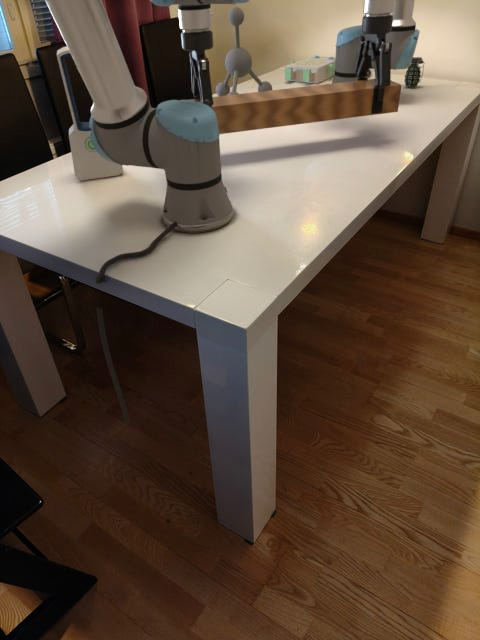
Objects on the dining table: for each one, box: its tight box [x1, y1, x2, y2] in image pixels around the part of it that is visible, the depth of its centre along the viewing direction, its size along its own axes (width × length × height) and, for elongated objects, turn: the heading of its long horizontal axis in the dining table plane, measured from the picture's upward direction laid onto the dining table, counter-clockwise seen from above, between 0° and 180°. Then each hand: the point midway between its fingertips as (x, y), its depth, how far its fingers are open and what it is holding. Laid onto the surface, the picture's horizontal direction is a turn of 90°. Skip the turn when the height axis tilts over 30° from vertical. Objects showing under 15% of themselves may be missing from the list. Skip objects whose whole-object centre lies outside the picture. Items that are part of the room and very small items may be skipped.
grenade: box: [404, 56, 426, 89], centre depth 185 cm, size 7×6×10 cm
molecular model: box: [215, 6, 273, 96], centre depth 175 cm, size 24×22×30 cm
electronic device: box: [56, 45, 124, 181], centre depth 122 cm, size 12×8×30 cm, turn 105°
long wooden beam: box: [190, 78, 403, 135], centre depth 131 cm, size 60×10×7 cm, turn 104°
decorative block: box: [284, 55, 335, 84], centre depth 206 cm, size 26×6×20 cm
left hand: (204, 127), depth 128 cm, fingers closed on long wooden beam, 10 cm apart
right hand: (368, 107), depth 136 cm, fingers closed on long wooden beam, 10 cm apart
